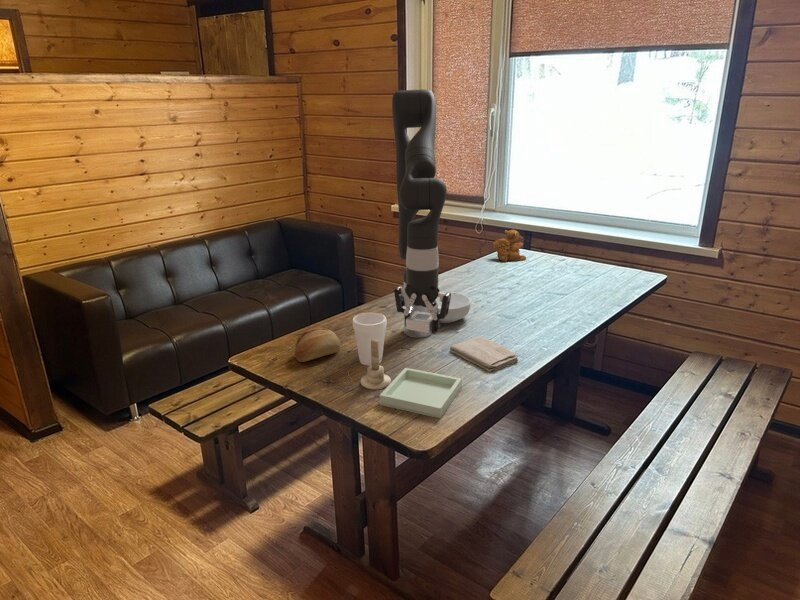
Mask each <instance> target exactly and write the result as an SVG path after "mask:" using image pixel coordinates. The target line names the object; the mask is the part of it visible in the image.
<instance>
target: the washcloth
mask: <svg viewBox="0 0 800 600" xmlns="http://www.w3.org/2000/svg"><path fill="white" fill-rule="evenodd" d="M449 351H450V352H451V353H453V354H455V355H456V356H459V357H461V358H463V359H464V360H466V361H469V362H471V363H472V364H475V365H477V366H479V367H480V368H482V369H484V370H485V371H487V372H489V373H491V372H492V371H498V370H500V368H501V369H503V368H506V367H508V366H510V365H509V364H511V365H513V364H515V363H517V362H518V361H519V359H518V356H517V355H516V352H514V351H511V350H510V349H509V348H507V346H506V345H502V344H499V343H497V342H495V341H493V340H491V339H488V338H485V337H484V336H481V335H477V336H474V337H471V338H470V339H467V340H465V341H461V342H458V343H456V344H453V345H451V346H450V347H449ZM514 362H515V363H514ZM512 363H513V364H512ZM507 365H508V366H507Z"/></svg>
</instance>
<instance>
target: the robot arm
mask: <svg viewBox="0 0 800 600" xmlns="http://www.w3.org/2000/svg"><path fill="white" fill-rule="evenodd" d="M436 106H437V104H436V97H435V95H434V92H433V91H432V90H430V89H427V88H426V89H423V88H422V89H408V90H407V89H404V90H403V89H401V90H397V91H395V92H394V93H393V95H392V101H391V113H392V122H393V131H394V133H393V134H394V141H395V144H394V145H395V157H396V158H395V161H396V162H395V164H396V175H395V176H396V177H395V178H396V193H397V205H398V253H399V254H398V255H399V256H400V258H401V259H402V260H404V261H405V264H406V265H405V267H406V271H404V273H403V286H401V285H399V286H397V287H395V288H394V291H393V293H394V299H395V305H396V311H397V312H398V313H401V314H403V332H404V333H403V334H405V336H408V337H411V338H418V339H419V338H426V337H429V336H431V335H436V334H437V333H438V332H439V331H440V329H441V323H440V319H444V318H445V317H446V316H447V315H448V310H449V305H450V299H451V294H450V293H449V292H450V291H447V292H448V293H442V292H443V291H440V289H439V264H440V263H439V256H440V255H439V249H438V248H439V247H438V245H439V244H438V243H439V241H438V240H439V238H438V237H439V225H440V224H439V223H440V219H441V215H442V212H443V210H444V209H443V208H444V206H445V202H446V199H447V191H448V189H447V186H446V183H445V182H444V181H443V180H442V179H441V178H439V177H436V173H437V167H436V166H437V165H436V157H435V139H436V129H437V128H436V127H437V126H436V125H437V107H436ZM408 128H409V129H412V128H420V129H419V130H418V131H417V132H416V133H415V134H414V135H413V137H412V138H411V139H410V138H409V136H408V133H407V129H408ZM419 211H429V212H428V214H427V215H426V216H423V217H421V218H417V219H414V218H415V217H416V215H417V214H418V212H419ZM437 297H439V298H440V301H441V302H442V305H441V311H439V309H438V304H437V302H436V299H437ZM415 311H419V312H426V313H431V316H432V318H433V320H432V331H431V332H430V333H427V332H421V331H415V330H409V329H406V319H407V318H408V317H409V316H411V315H412V314H413V313H414V312H415Z"/></svg>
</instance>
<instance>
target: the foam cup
mask: <svg viewBox="0 0 800 600" xmlns="http://www.w3.org/2000/svg"><path fill="white" fill-rule="evenodd" d="M387 325H388V324H387V317H386V316H385V315H384V314H383V313H380V312H363V313H358V314H356V315H354V316H353V318H352V328H353V332H354V336H355V343H356V347H357V353H358V360H359V363H360V364H362V365H363V366H368V367H369V366H372V362H371V340H378V341H379V364H381V363H382V361H383V354H384V344H385V337H386V330H387Z"/></svg>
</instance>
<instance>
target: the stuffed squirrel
mask: <svg viewBox="0 0 800 600" xmlns="http://www.w3.org/2000/svg"><path fill="white" fill-rule="evenodd" d="M504 233H505V235H506V237H507V238H499V239H496V240H495V241H493V242H492V244H493V246H492V247H493V249H494V250H495V251H496V253H497V254H496V255H497V258H498V259H499V260H500V261H502V262H504V263H505V262H506V263H507V262H508V261H510V262H522V261H525V260H527V257H526V255H521V254H520V249H521V248H523V246H524V243H523V242H518V240H519V239H523V237H522V236H521V235H520V233H519V231H517V230H515V229H510V230H507V229H505V230H504Z"/></svg>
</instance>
